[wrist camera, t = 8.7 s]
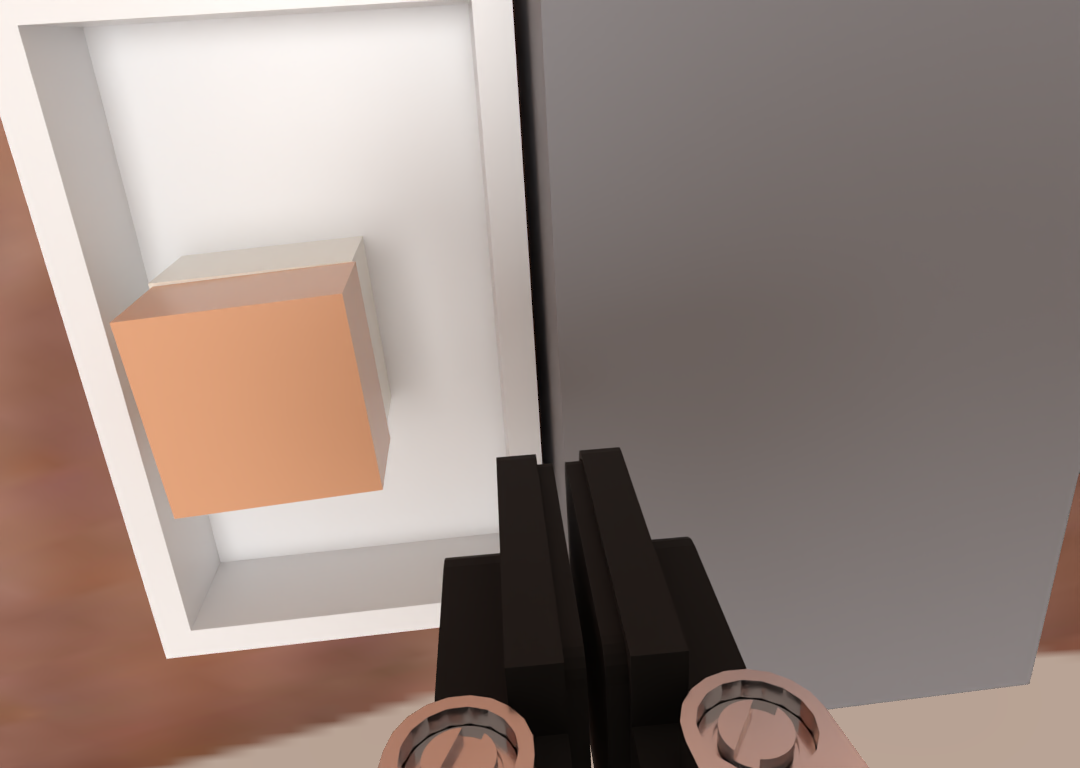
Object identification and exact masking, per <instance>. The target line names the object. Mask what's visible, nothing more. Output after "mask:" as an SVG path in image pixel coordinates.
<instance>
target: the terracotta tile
mask: <svg viewBox="0 0 1080 768" xmlns="http://www.w3.org/2000/svg"><path fill="white" fill-rule="evenodd" d="M110 326H111V329H112V332H113V335H114V338H115V341H116V344H117V347H118V350H119V353H120V356H121V359H122V362H123V365H124V368H125V371H126V374H127V377H128V380H129V383H130V386H131V389H132V392H133V395H134V398H135V401H136V404H137V407H138V410H139V413H140V417H141V420H142V423H143V426H144V429H145V432H146V435H147V438H148V441H149V444H150V447H151V450H152V453H153V456H154V459H155V462H156V465H157V468H158V471H159V474H160V477H161V480H162V483H163V486H164V489H165V492H166V495H167V498H168V501H169V504H170V507H171V510H172V513H173V516H174V519H178V518H185V517H193V516H200V515H207V514H214V513H221V512H228V511H236V510H243V509H250V508H257V507H264V506H271V505H278V504H286V503H293V502H300V501H307V500H314V499H321V498H328V497H336V496H343V495H350V494H357V493H364V492H371V491H378V490H383V486H384V479H385V472H386V465H387V458H388V451H389V445H390V434H389V429H388V424H387V418H386V413H385V408H384V403H383V398H382V393H381V388H380V383H379V378H378V373H377V368H376V363H375V357H374V352H373V347H372V342H371V337H370V332H369V327H368V322H367V317H366V312H365V307H364V302H363V297H362V291H361V286H360V281H359V276H358V271H357V266H356V261H355V262H347V263H339V264H331V265H323V266H315V267H307V268H299V269H290V270H282V271H274V272H266V273H258V274H250V275H242V276H234V277H226V278H218V279H210V280H202V281H194V282H186V283H178V284H170V285H162V286H154V287H152V288H150V289H149V290H148V291H147V292H146V293H144V294H143V295H142V296H141V297H140V298H138V299H137V300H136V301H135V302H134V303H133V304H131V305H130V306H129V307H128V308H127V309H125V310H124V311H123V312H122V313H121V314H119V315H118V316H117V317H116V318H115V319H114V320H112V321H111V322H110Z"/></svg>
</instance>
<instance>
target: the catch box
mask: <svg viewBox="0 0 1080 768" xmlns="http://www.w3.org/2000/svg"><path fill="white" fill-rule="evenodd" d="M0 116H1V120H2V123H3V126H4V130H5V133H6V136H7V139H8V143H9V146H10V149H11V152H12V156H13V159H14V162H15V165H16V169H17V172H18V175H19V178H20V182H21V185H22V188H23V192H24V195H25V198H26V201H27V205H28V208H29V211H30V214H31V218H32V221H33V224H34V227H35V231H36V234H37V237H38V240H39V244H40V247H41V250H42V254H43V257H44V260H45V263H46V267H47V270H48V273H49V276H50V280H51V283H52V286H53V289H54V293H55V296H56V299H57V302H58V306H59V309H60V312H61V316H62V319H63V322H64V325H65V329H66V332H67V335H68V338H69V342H70V345H71V348H72V351H73V355H74V358H75V361H76V364H77V368H78V371H79V374H80V378H81V381H82V384H83V387H84V391H85V394H86V397H87V400H88V404H89V407H90V410H91V413H92V417H93V420H94V423H95V427H96V430H97V433H98V436H99V440H100V443H101V446H102V449H103V453H104V456H105V459H106V462H107V466H108V469H109V472H110V475H111V479H112V482H113V485H114V489H115V492H116V495H117V498H118V502H119V505H120V508H121V511H122V515H123V518H124V521H125V524H126V528H127V531H128V534H129V537H130V541H131V544H132V547H133V551H134V554H135V557H136V560H137V564H138V567H139V570H140V573H141V577H142V580H143V583H144V586H145V590H146V593H147V596H148V599H149V603H150V606H151V609H152V613H153V616H154V619H155V622H156V626H157V629H158V632H159V635H160V639H161V642H162V645H163V648H164V652H165V655H166V658H167V659H168V658H176V657H185V656H194V655H203V654H211V653H220V652H229V651H238V650H246V649H255V648H264V647H273V646H281V645H290V644H299V643H308V642H316V641H325V640H334V639H343V638H351V637H360V636H369V635H378V634H386V633H395V632H404V631H413V630H421V629H430V628H439V627H440V612H441V597H442V582H443V567H444V560H445V558H450V557H461V556H473V555H484V554H495V553H500V540H499V515H498V490H497V466H496V457H507V456H519V455H531V454H536V458H537V464H542V453H541V437H540V422H539V406H538V391H537V375H536V360H535V344H534V329H533V313H532V298H531V283H530V267H529V252H528V236H527V221H526V205H525V190H524V174H523V159H522V143H521V128H520V113H519V97H518V82H517V66H516V51H515V35H514V20H513V4H512V0H0ZM357 236H363V240H364V246H365V251H366V257H367V263H368V268H369V274H370V279H371V285H372V291H373V296H374V302H375V307H376V313H377V319H378V324H379V330H380V335H381V341H382V347H383V352H384V358H385V364H386V369H387V375H388V380H389V386H390V392H391V403H390V410H389V416H388V422H387V424H388V429H389V434H390V445H389V451H388V458H387V465H386V472H385V479H384V486H383V490H378V491H371V492H364V493H357V494H350V495H343V496H336V497H328V498H321V499H314V500H307V501H300V502H293V503H286V504H278V505H271V506H264V507H257V508H250V509H243V510H236V511H228V512H221V513H214V514H207V515H200V516H193V517H185V518H178V519H174V516H173V513H172V510H171V507H170V504H169V501H168V498H167V495H166V492H165V489H164V486H163V483H162V480H161V477H160V474H159V471H158V468H157V465H156V462H155V459H154V456H153V453H152V450H151V447H150V444H149V441H148V438H147V435H146V432H145V429H144V426H143V423H142V420H141V417H140V413H139V410H138V407H137V404H136V401H135V398H134V395H133V392H132V389H131V386H130V383H129V380H128V377H127V374H126V371H125V368H124V365H123V362H122V359H121V356H120V353H119V350H118V347H117V344H116V341H115V338H114V335H113V332H112V329H111V326H110V322H111V321H112V320H114V319H115V318H116V317H117V316H118V315H119V314H121V313H122V312H123V311H124V310H125V309H127V308H128V307H129V306H130V305H131V304H133V303H134V302H135V301H136V300H137V299H138V298H140V297H141V296H142V295H143V294H144V293H146V292H147V291H148V290H149V286H148V283H149V282H151V281H152V280H153V279H154V278H155V277H157V276H158V275H159V274H160V273H162V272H163V271H164V270H165V269H166V268H168V267H169V266H170V265H171V264H173V263H174V262H175V261H176V260H177V259H179V258H180V257H181V256H186V255H195V254H204V253H213V252H222V251H231V250H240V249H249V248H258V247H267V246H276V245H285V244H294V243H303V242H312V241H321V240H330V239H339V238H348V237H357Z"/></svg>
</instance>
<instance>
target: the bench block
mask: <svg viewBox="0 0 1080 768" xmlns="http://www.w3.org/2000/svg"><path fill="white" fill-rule="evenodd" d="M514 7H515V23H516V39H517V54H518V70H519V86H520V101H521V117H522V133H523V148H524V164H525V179H526V195H527V211H528V226H529V242H530V258H531V273H532V289H533V305H534V320H535V336H536V352H537V367H538V383H539V399H540V414H541V430H542V446H543V461H544V464H549V463H553V469H554V474H555V480H556V486H557V492H558V498H559V504H560V510H561V515H562V521H563V527H564V533H565V539H566V545H567V550H568V556H569V543H568V524H567V504H566V485H565V462H573V461H579V451H580V450H590V449H602V448H614V447H620V449H621V451H622V454H623V457H624V460H625V463H626V466H627V469H628V472H629V475H630V478H631V481H632V484H633V487H634V490H635V493H636V495H637V498H638V501H639V504H640V507H641V510H642V513H643V516H644V519H645V522H646V525H647V528H648V531H649V534H650V537H651V540H653V539H664V538H676V537H687V536H688V537H689V538H691V539H692V541H693V543H694V545H695V547H696V549H697V552H698V554H699V556H700V559H701V561H702V564H703V566H704V568H705V571H706V573H707V575H708V578H709V580H710V583H711V585H712V587H713V590H714V592H715V594H716V597H717V599H718V602H719V604H720V606H721V609H722V611H723V613H724V616H725V618H726V621H727V623H728V625H729V628H730V630H731V633H732V635H733V637H734V640H735V642H736V644H737V647H738V649H739V652H740V654H741V656H742V659H743V661H744V663H745V666H746V668H747V669H750V670H758V671H765V672H771V673H773V674H776V675H779V676H782V677H785V678H787V679H790V680H792V681H794V682H795V683H797V684H799V685H800V686H802V687H803V688H805V689H807V690H808V691H810V692H811V693H812V694H813V695H814V696H815V697H816V698H817V699H818V700H819V701H820V702H821V703H822V704H823V705H824V706H825V708H826V709H835V708H843V707H851V706H859V705H867V704H875V703H883V702H891V701H899V700H907V699H914V698H923V697H931V696H939V695H947V694H955V693H963V692H971V691H979V690H987V689H995V688H1001V687H1010V686H1018V685H1026V684H1029V683H1030V679H1031V675H1032V671H1033V667H1034V662H1035V658H1036V654H1037V650H1038V645H1039V641H1040V637H1041V633H1042V628H1043V624H1044V620H1045V615H1046V611H1047V607H1048V603H1049V598H1050V594H1051V590H1052V586H1053V581H1054V577H1055V573H1056V569H1057V564H1058V560H1059V556H1060V552H1061V547H1062V543H1063V539H1064V534H1065V530H1066V526H1067V522H1068V517H1069V513H1070V509H1071V505H1072V500H1073V496H1074V492H1075V488H1076V483H1077V479H1078V475H1079V470H1080V0H514Z"/></svg>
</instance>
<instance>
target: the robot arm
mask: <svg viewBox="0 0 1080 768" xmlns="http://www.w3.org/2000/svg"><path fill="white" fill-rule="evenodd" d="M496 466H497V490H498V515H499V540H500V553H495V554H484V555H473V556H461V557H450V558H445V560H444V567H443V582H442V597H441V612H440V628H439V643H438V658H437V673H436V688H435V702H433V703H430V704H428V705H426V706H424V707H422V708H421V709H419V710H418V711H416V712H414V713H413V714H411V715H410V716H408V717H407V718H406V719H405V720H404V721H403V722H402V723H401V724H400V725H399V726H398V727H397V728H396V730H395V731H394V732H393V733H392V735H391V737H390V739H389V741H388V743H387V744H386V746H385V748H384V750H383V753H382V757H381V759H380V763H379V766H378V768H591V752H592V757H593V764H594V768H869V767H868V766H867V764H866V763H865V761H864V760H863V759H862V757H861V756H860V755H859V753H858V752H857V750H856V749H855V748H854V746H853V745H852V744H851V742H850V741H849V739H848V738H847V737H846V735H845V734H844V732H843V731H842V730H841V728H840V727H839V726H838V724H837V723H836V721H835V720H834V719H833V717H832V716H831V714H830V713H829V712H828V710H827V709H826V708H825V706H824V705H823V704H822V703H821V702H820V701H819V700H818V699H817V698H816V697H815V696H814V695H813V694H812V693H811V692H810V691H808V690H807V689H805V688H803V687H802V686H800V685H799V684H797V683H795V682H794V681H792V680H790V679H787V678H785V677H782V676H779V675H776V674H773V673H771V672H765V671H758V670H750V669H747V668H746V666H745V663H744V661H743V659H742V656H741V654H740V652H739V649H738V647H737V644H736V642H735V640H734V637H733V635H732V633H731V630H730V628H729V625H728V623H727V621H726V618H725V616H724V613H723V611H722V609H721V606H720V604H719V602H718V599H717V597H716V594H715V592H714V590H713V587H712V585H711V583H710V580H709V578H708V575H707V573H706V571H705V568H704V566H703V564H702V561H701V559H700V556H699V554H698V552H697V549H696V547H695V545H694V543H693V541H692V539H691V538H689V537H688V536H687V537H676V538H664V539H653V540H651V537H650V534H649V531H648V528H647V525H646V522H645V519H644V516H643V513H642V510H641V507H640V504H639V501H638V498H637V495H636V493H635V490H634V487H633V484H632V481H631V478H630V475H629V472H628V469H627V466H626V463H625V460H624V457H623V454H622V451H621V449H620V447H614V448H602V449H590V450H580V451H579V461H573V462H565V485H566V504H567V524H568V543H569V556H568V550H567V545H566V539H565V533H564V527H563V521H562V515H561V510H560V504H559V498H558V492H557V486H556V480H555V474H554V469H553V463H549V464H537V458H536V454H531V455H519V456H507V457H496ZM590 745H591V752H590Z"/></svg>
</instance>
